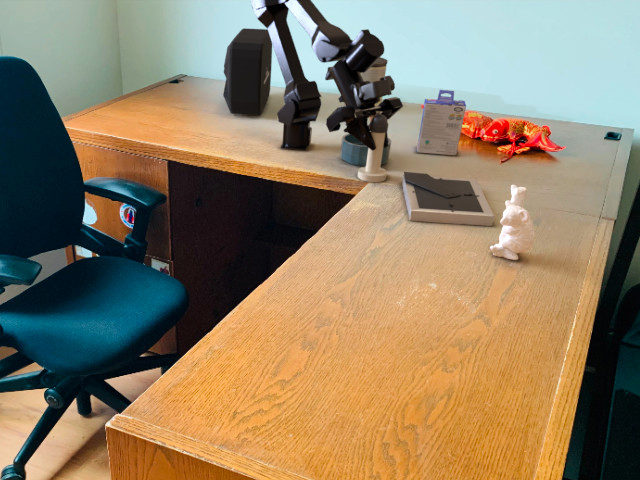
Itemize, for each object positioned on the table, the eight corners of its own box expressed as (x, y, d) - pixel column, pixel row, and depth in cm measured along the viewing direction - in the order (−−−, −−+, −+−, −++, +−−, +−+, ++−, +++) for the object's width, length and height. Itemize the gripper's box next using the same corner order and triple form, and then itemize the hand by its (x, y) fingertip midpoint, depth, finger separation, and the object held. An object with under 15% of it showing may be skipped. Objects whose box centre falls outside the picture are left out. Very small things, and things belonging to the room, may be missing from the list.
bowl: (337, 165, 158) (339, 144, 155) (343, 150, 167) (345, 130, 165) (386, 170, 156) (389, 148, 153) (389, 155, 165) (392, 134, 162)
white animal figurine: (482, 243, 123) (497, 180, 116) (520, 246, 122) (537, 183, 115) (491, 264, 116) (508, 198, 109) (531, 267, 115) (550, 201, 108)
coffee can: (340, 109, 201) (345, 59, 193) (356, 103, 208) (362, 54, 200) (371, 115, 196) (378, 64, 188) (386, 108, 203) (393, 59, 195)
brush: (353, 178, 150) (360, 115, 142) (363, 170, 155) (372, 109, 147) (379, 184, 148) (389, 120, 140) (390, 176, 152) (399, 113, 144)
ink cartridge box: (455, 149, 170) (467, 90, 162) (457, 156, 165) (469, 95, 157) (416, 146, 171) (426, 87, 163) (416, 153, 167) (426, 93, 159)
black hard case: (260, 120, 189) (262, 44, 178) (217, 117, 190) (217, 42, 179) (270, 95, 214) (273, 27, 203) (233, 93, 215) (233, 25, 204)
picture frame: (401, 183, 148) (409, 220, 131) (403, 171, 146) (412, 207, 129) (474, 188, 147) (491, 226, 129) (476, 175, 145) (495, 212, 128)
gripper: (340, 67, 136) (372, 135, 135) (403, 58, 145) (433, 121, 144) (312, 99, 146) (341, 162, 144) (373, 88, 155) (401, 148, 154)
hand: (380, 148), depth 146 cm, fingers closed on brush, 3 cm apart
